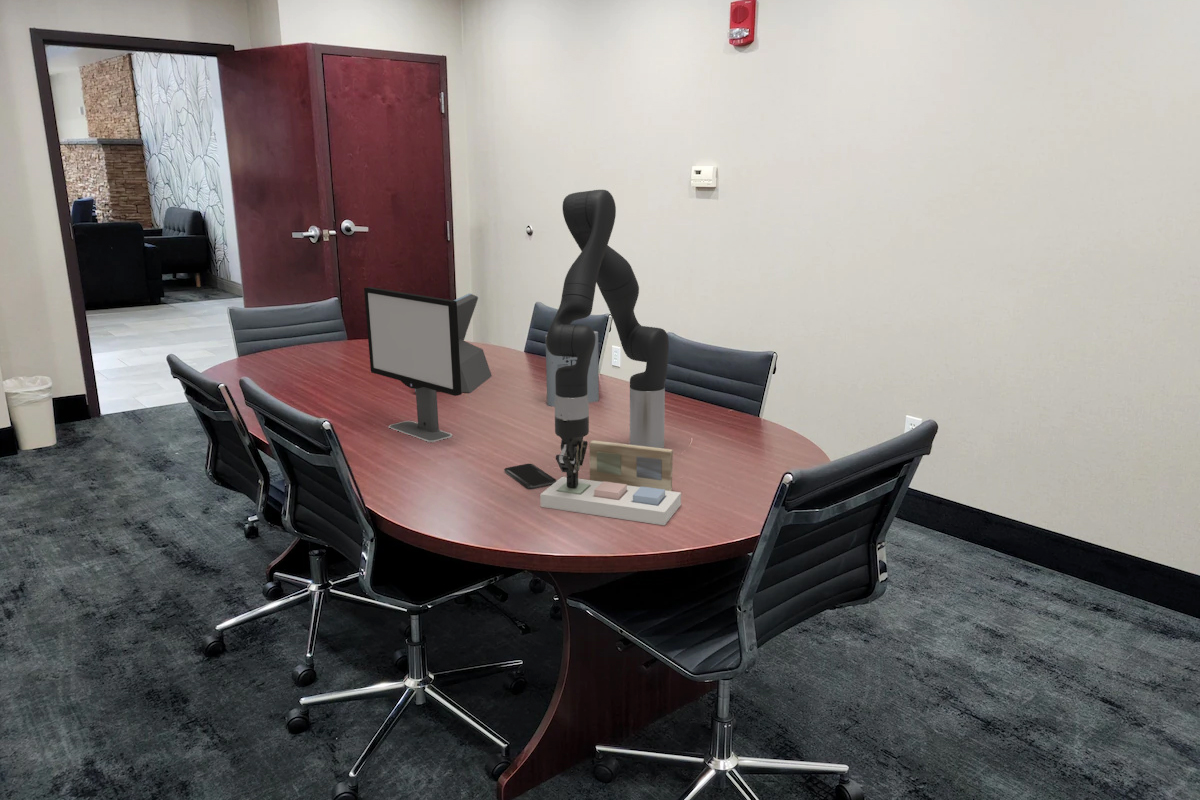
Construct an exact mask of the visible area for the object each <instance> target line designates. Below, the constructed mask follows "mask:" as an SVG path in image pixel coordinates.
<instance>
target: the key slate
mask: <svg viewBox="0 0 1200 800" xmlns="http://www.w3.org/2000/svg"><path fill="white" fill-rule="evenodd" d="M664 498H665V490H664V489H657V488H649V487H642V486H641V487H640V488H639V489H638V490H637V491H636V492H635V493H634V494H633V502H635V503H642V504H649V505H656V506H659V504H660V503H661V502H662V501H663V500H664Z"/></svg>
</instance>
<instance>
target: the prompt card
mask: <svg viewBox="0 0 1200 800" xmlns="http://www.w3.org/2000/svg"><path fill="white" fill-rule="evenodd" d="M588 444H589V446H588V447H589V480H592V481H600V482H603V481H605V482H613V483H620V484H627V485H629V486H636V487H641V486H642V487H649V488H657V489H664V490H666V491H673V460H674V459H673V451H674V450H673V449H669V448H664V449H663V448H654V447H646V446H637V445H630V444H629V443H628V444H626V443H619V442H611V441H610V442H609V441H602V440H591V441H589V443H588Z"/></svg>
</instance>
